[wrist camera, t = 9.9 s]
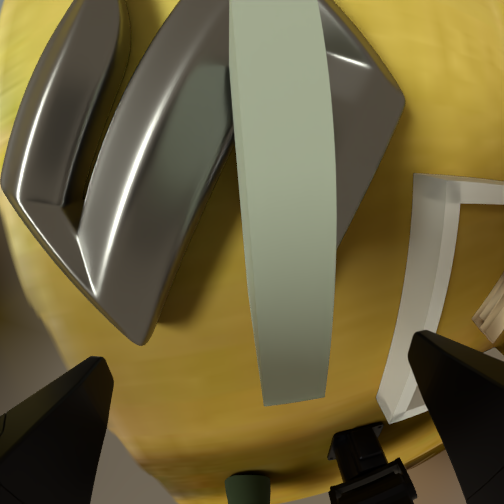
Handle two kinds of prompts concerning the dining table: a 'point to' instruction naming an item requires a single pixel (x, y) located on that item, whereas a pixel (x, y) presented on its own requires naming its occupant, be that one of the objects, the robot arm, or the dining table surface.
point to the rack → (428, 278)
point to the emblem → (161, 144)
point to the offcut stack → (492, 312)
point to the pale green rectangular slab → (285, 189)
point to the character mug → (248, 489)
